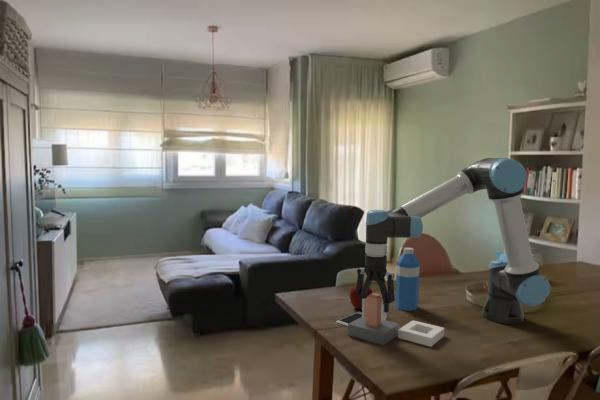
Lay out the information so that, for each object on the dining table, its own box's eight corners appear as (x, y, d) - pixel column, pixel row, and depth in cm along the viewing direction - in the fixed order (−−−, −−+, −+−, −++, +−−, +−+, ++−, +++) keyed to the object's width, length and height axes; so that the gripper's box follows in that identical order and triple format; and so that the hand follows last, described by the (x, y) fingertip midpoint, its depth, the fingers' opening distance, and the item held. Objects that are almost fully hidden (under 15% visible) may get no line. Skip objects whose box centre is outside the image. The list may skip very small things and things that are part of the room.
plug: (381, 334, 167) (382, 294, 165) (375, 337, 164) (377, 297, 162) (371, 331, 169) (372, 292, 168) (365, 335, 166) (366, 294, 165)
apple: (344, 308, 194) (345, 284, 193) (358, 303, 201) (358, 280, 200) (363, 313, 188) (364, 289, 187) (376, 308, 195) (377, 284, 194)
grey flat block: (399, 334, 167) (399, 323, 166) (383, 345, 157) (383, 333, 157) (364, 325, 175) (365, 315, 175) (347, 334, 166) (348, 324, 165)
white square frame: (444, 336, 166) (444, 327, 166) (430, 346, 157) (431, 338, 156) (412, 328, 173) (412, 320, 173) (397, 337, 164) (398, 329, 164)
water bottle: (418, 311, 192) (420, 251, 189) (395, 309, 194) (397, 250, 191) (417, 304, 201) (419, 247, 198) (395, 302, 203) (397, 245, 200)
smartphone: (373, 318, 185) (374, 315, 185) (350, 328, 173) (350, 326, 173) (359, 313, 189) (359, 311, 189) (335, 323, 178) (335, 321, 178)
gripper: (407, 256, 160) (404, 321, 163) (357, 249, 172) (355, 309, 175) (397, 260, 155) (394, 328, 157) (346, 252, 166) (344, 315, 169)
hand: (374, 318), depth 166 cm, fingers open, 7 cm apart
